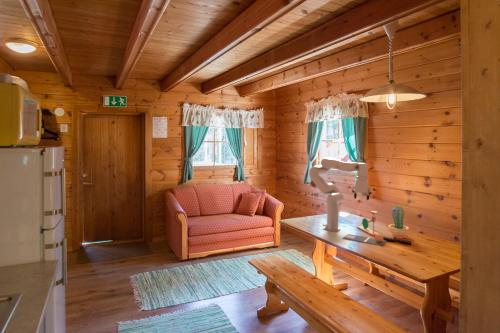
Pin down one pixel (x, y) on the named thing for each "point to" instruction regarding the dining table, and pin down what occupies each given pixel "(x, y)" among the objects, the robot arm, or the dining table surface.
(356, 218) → the dining table surface
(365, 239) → the mat
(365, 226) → the crank mechanism
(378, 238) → the ball
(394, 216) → the potted cactus
